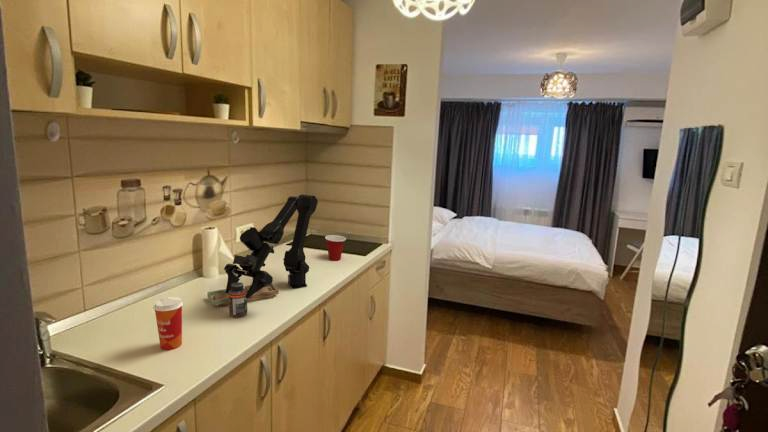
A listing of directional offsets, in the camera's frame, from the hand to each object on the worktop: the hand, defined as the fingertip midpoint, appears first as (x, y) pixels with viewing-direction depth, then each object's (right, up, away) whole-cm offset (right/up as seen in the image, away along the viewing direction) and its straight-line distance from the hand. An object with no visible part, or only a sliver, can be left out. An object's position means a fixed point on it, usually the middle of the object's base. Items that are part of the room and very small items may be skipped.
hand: (236, 295), depth 141 cm
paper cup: (-12, -11, -20) cm, 26 cm away
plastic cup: (+26, +5, +69) cm, 74 cm away
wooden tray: (-3, -4, +17) cm, 18 cm away
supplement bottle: (0, -7, +2) cm, 8 cm away
